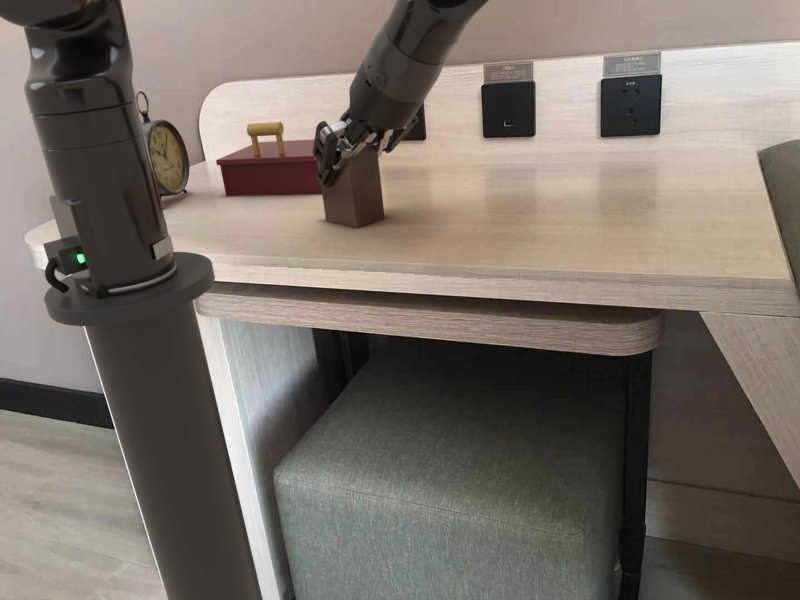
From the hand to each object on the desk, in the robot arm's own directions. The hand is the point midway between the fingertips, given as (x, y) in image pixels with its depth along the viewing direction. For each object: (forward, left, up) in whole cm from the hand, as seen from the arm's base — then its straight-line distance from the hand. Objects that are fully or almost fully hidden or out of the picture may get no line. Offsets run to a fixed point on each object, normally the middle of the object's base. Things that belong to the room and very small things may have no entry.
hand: (339, 177), depth 83 cm
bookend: (0, -2, -5) cm, 6 cm away
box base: (+8, +23, -5) cm, 25 cm away
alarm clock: (-8, +33, -5) cm, 35 cm away
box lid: (+8, +23, 0) cm, 24 cm away
